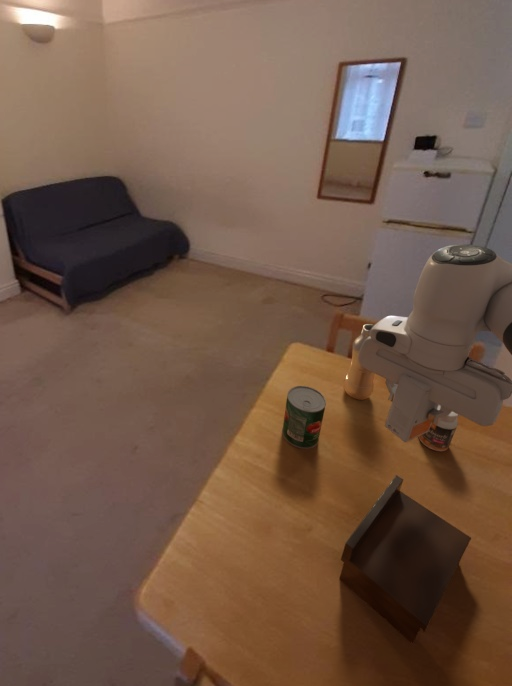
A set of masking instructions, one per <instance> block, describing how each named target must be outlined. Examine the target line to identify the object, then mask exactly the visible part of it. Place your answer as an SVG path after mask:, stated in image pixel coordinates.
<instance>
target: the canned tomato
mask: <svg viewBox="0 0 512 686" xmlns="http://www.w3.org/2000/svg"><path fill="white" fill-rule="evenodd" d="M326 406H327V400H326V398H325V396H324V395H323V394H322V393H321V392H320V391H319V390H317V389H315V388H313V387H311V386H306V385H296V386H293V387H291V388H290V389H289V390H288V391H287V393H286V403H285V410H284V417H283V423H282V429H281V432H282V433H281V434H282V436H283V438H284V440H285V441H286V442H287V443H288V444H290V445H291V446H293V447H295V448H298V449H302V450H303V449H304V450H306V449H308V450H309V449H312V448H314V447H316V446H317V445H318V443H319V440H320V434H321V429H322V425H323V420H324V414H325V410H326Z"/></svg>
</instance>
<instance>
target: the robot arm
mask: <svg viewBox="0 0 512 686" xmlns="http://www.w3.org/2000/svg"><path fill="white" fill-rule="evenodd" d="M412 299H413V301H412V302H413V308H412V310H411V312H410V314H408V316H397V315H388V316H387V315H386V316H385V317H384V318H382V319H380V320H379V321H378V322H376V323H375V324H373V325H374V326H373V327H372V329H371V330H370V336H369V337H368V338H367V339H366V340H365V341H364V342H363V344H362V346H361V348H360V351H359V354H358V358H357V360H358V362H359V364H360V366H361V367H363V368H365V369H367V370H369V371H371V372H373V373H375V374H374V375H377V376H379V377H381V378H384V379H385V382H384V383H385V386H386V388H387V390H388V393H389V396H388V399H387V400H388V401H390V402H392V401H393V398H394V395H395V392H396V389H397V385H398V382H399V379H400V376H401V374H405V375H407V376H409V377H411V378H414V379H416V380H418V381H420V382H422V383H424V384H426V385H428V386H430V387H431V390H430V393H429V395H428V400H430V401H432V402H434V403H436V404H438V405H440V406H441V407H440V410H437V409H434V408H433V409H432V411H431V412H430V413H429V415H428V418H427V420H428V421H430V422H432V423H434V424H435V425H437V424H438V423H439V422H440V420H441V418H442V417H445V416H447V415H450V413H451V412H455V413H457V414H459V415H458V416H460V417H462V418H464V419H467V420H469V421H471V422H473V423H475V424H477V425H479V426H482V427H489V426H492V425H494V424H495V423H496V421H497V419H498V417H499V416H500V413H501V410H502V407H503V403H504V401H505V400H508V399H509V398H510V397H511V396H512V379H511V378H510V377H509V376H507V375H506V373H505V372H504V371H502V370H501V369H498V368H495V367H492V366H489V365H486V363H483V362H481V361H479V360H476V359H473V358H470V357H469V356H470V354H471V351H472V349H473V346H474V344H475V340H476V337H477V335H478V334H479V333H480V332H492V334H493V335H494V336H495V337H496V338H497V339H499V341H500V342H501V343H502V344H503V345H504V347H505V349H506V350H507V351H508V353H509V354H510V355H511V356H512V263H510V262H509V261H508V260H505V259H504V258H502V257H501V256H500V255H498V254H497V252H495V251H494V250H492V249H490V248H489V247H484V246H482V245H475V244H467V243H460V244H450V245H445V246H443V247H440V248H439V249H437V250H435V251H433V253H432V254H431V255H430V256H429V258H428V259H427V260H426V263H425V264H424V266H423V269H422V270H421V273H420V275H419V278H418V281H417V284H416V287H415V291H414V294H413V298H412Z"/></svg>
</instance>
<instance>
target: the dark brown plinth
mask: <svg viewBox="0 0 512 686" xmlns="http://www.w3.org/2000/svg"><path fill="white" fill-rule="evenodd" d="M403 483H404V478H402V477H400V476H399V475H395V476H394V478H393V479H392V481H391V482H390V483H389V484H388V486H387V487H386V488H385V489H384V491H383V492H382V493H381V495H380V496H379V497H378V499H377V500H376V502H374V504H373V506H372V507H371V508H370V509H369V511H368V513H367V514H366V515H365V516H364V517H363V519H362V520H361V522H360V523H359V524H358V525H357V527H355V530H354V531H353V532H352V533H351V535H350V536H349V538H348V539H347V540H346V542H345V544H344V547H343V551H342V554H341V558H340V561H341V562H342V563H343V565H342V567H341V571H340V576H339V580H340V581H342V582H343V583H344V584H345V585H346V586H347V587H348V588H350V589H351V590H352V591H353V592H354V593H355V594H356V595H357V596H359V597H360V598H361V599H362V600H363V601H364V602H366V604H367V605H369V607H371V608H372V609H373V610H374V611H376V613H378V614H379V615H380V616H381V617H382V618H383V619H384V620H385V621H387V622H388V623H389V624H391V626H392V627H393V628H395V629H396V630H397V631H398V632H399V633H400V634H401V635H403V636H404V637H405V638H406V639H407V640H408V641H409V642H410V643H411V644H414V643H415V641H416V639H417V638H418V635H419V634H420V630H422V631H423V632H426V630H427V628H428V626H429V624H430V622H431V620H432V618H433V616H434V614H435V612H436V610H437V608H438V605H440V602H441V600H442V598H443V596H444V594H445V592H446V590H447V588H448V586H449V584H450V582H451V580H452V578H453V576H454V573H455V572H456V570H457V569H458V566H459V564H460V562H461V560H462V558H463V555H464V554H465V552H466V550H467V548H468V547H469V543H470V541H471V540H472V537H471V536H469V535H468V534H466V533H465V532H463V531H462V530H460V529H459V528H457V527H456V526H455V525H452V524H451V523H450V522H448V521H447V520H445V519H443V518H442V517H441V516H439V515H437V514H436V513H434V512H433V511H431V510H429V508H427V507H426V506H424V505H423V504H420V502H418V501H416V500H415V499H413V498H411V497H410V496H408V495H407V494H406V493H404V492H403V491H401V488H402V485H403Z"/></svg>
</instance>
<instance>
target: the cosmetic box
mask: <svg viewBox="0 0 512 686" xmlns="http://www.w3.org/2000/svg"><path fill="white" fill-rule="evenodd" d="M430 390H431V387H430V386H428V385H426V384H424V383H422V382H420V381H418V380H416V379H414V378H411V377H409V376H407V375H405V374H401V376H400V379H399V382H398V384H397V389H396V392H395V395H394V398H393V401H391V405H390V408H389V411H388V414H387V417H386V421H385V424H384V427H385V428H386V429H387V430H389V431H390V432H391V433H393V434H394V436H396V437H397V438H399V440H401V441H402V442H403V443H409V442H411V441H412V440H414V439H415V438H419V436H420V435H422V434H425V433H427V432H428V431H429V429H430V426H431V424H432V422H430V421H428V420H427V418H428V415H429V413H430V412H431V411H432V409H433V408H434V409H437V408H438V406H439V405H438V404H436V403H434V402H432V401H430V400H428V395H429V393H430Z"/></svg>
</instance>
